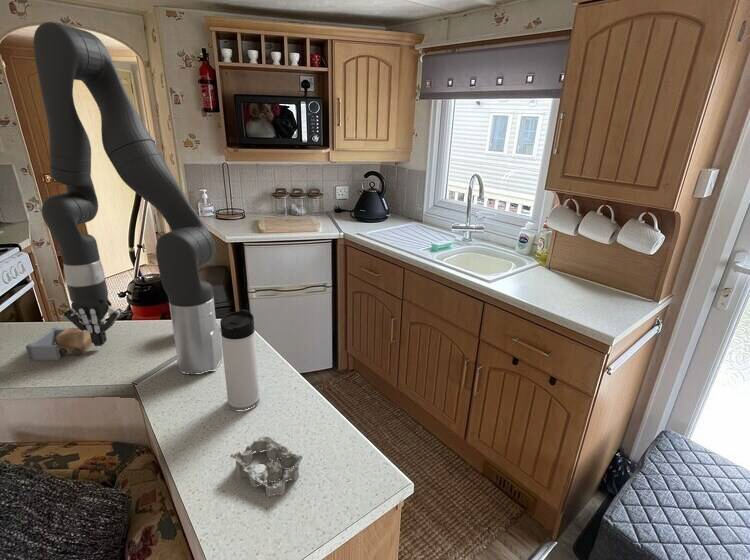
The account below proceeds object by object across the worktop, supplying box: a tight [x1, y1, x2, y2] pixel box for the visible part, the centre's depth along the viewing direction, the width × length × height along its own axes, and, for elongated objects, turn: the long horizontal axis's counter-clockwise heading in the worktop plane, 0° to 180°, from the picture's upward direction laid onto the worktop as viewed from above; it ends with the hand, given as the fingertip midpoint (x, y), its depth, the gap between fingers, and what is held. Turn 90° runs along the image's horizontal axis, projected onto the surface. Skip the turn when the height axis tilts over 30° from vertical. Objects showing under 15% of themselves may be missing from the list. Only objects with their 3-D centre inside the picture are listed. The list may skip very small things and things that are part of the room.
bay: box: [25, 327, 68, 361], centre depth 103 cm, size 6×10×4 cm
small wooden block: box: [56, 327, 94, 356], centre depth 103 cm, size 5×6×5 cm
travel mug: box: [219, 308, 260, 411], centre depth 84 cm, size 6×7×20 cm
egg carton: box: [229, 436, 303, 497], centre depth 70 cm, size 11×8×4 cm
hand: (99, 344), depth 104 cm, fingers closed
